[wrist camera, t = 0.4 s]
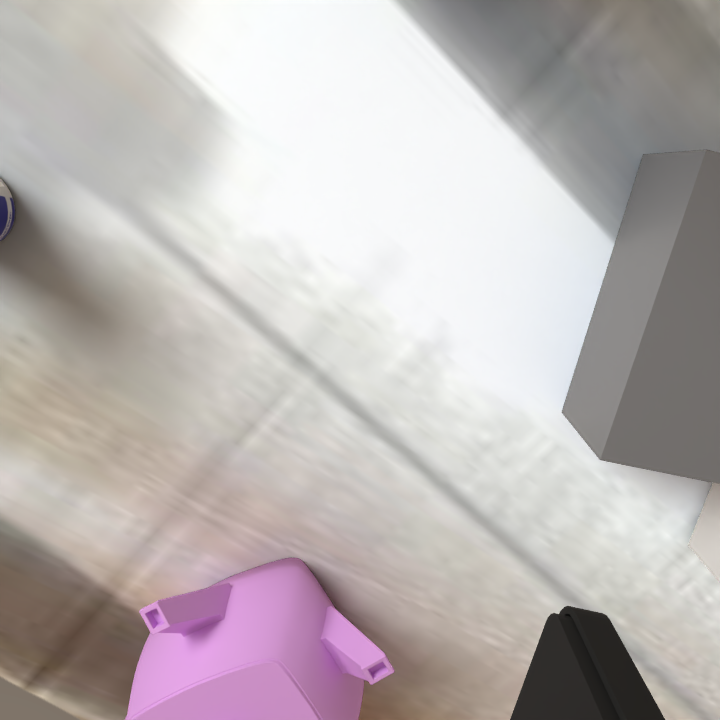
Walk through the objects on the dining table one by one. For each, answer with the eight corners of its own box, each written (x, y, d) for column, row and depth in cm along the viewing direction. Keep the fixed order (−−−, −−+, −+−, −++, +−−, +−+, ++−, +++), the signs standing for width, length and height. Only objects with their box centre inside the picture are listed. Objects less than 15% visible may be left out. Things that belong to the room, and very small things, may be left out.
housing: (643, 154, 41) (706, 149, 33) (820, 193, 41) (923, 198, 34) (561, 412, 46) (600, 460, 38) (721, 444, 46) (791, 498, 39)
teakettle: (140, 691, 54) (74, 839, 42) (181, 519, 49) (121, 629, 37) (335, 739, 55) (325, 896, 43) (394, 575, 50) (401, 699, 38)
